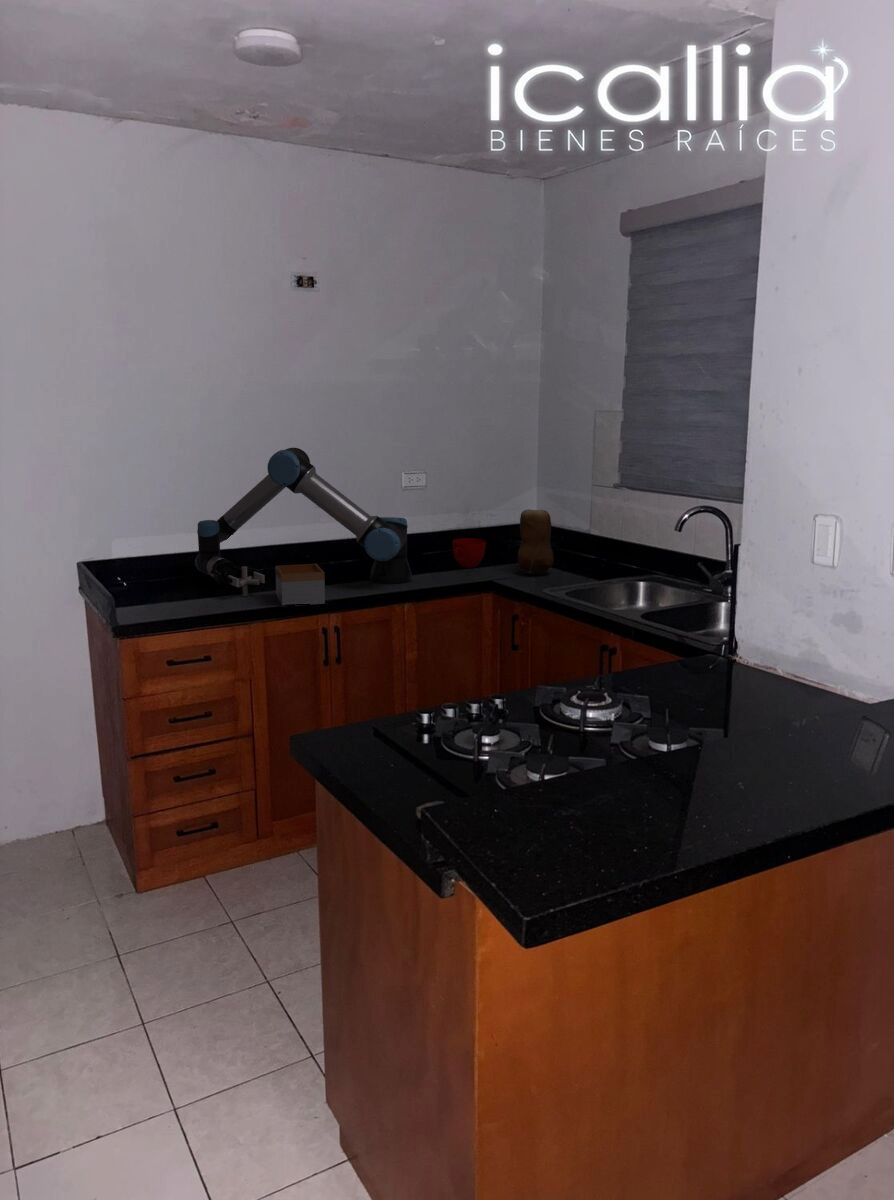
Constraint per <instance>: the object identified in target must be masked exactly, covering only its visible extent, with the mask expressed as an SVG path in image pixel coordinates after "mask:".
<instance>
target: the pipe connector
mask: <svg viewBox="0 0 894 1200" xmlns="http://www.w3.org/2000/svg"><path fill="white" fill-rule="evenodd" d="M247 567H248V566H241V568H242V578H238V579H239V587H238V588H241V589H242V591H241V593H242V597H244V596H246V597H248V596H249V586H248V585H254V586H255V585H257V586H259V585H260V583H261V582H260V580H257V579H253V577H252V576H249V577H247Z"/></svg>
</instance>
